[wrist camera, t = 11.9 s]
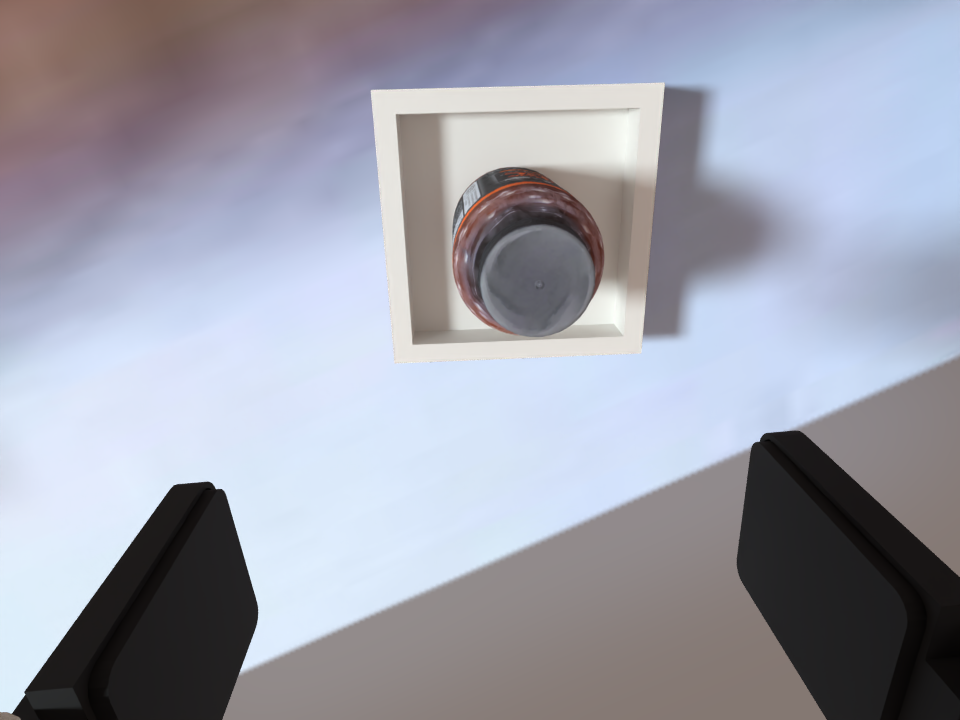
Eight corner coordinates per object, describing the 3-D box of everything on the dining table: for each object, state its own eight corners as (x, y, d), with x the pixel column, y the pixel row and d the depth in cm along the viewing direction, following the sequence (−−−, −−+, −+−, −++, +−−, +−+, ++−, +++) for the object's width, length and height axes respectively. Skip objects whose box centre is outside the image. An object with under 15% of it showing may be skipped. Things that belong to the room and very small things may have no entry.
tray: (378, 91, 29) (370, 90, 26) (644, 85, 29) (664, 82, 27) (399, 342, 34) (394, 363, 31) (625, 333, 34) (641, 353, 32)
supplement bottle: (584, 184, 30) (656, 226, 20) (544, 294, 32) (591, 383, 22) (470, 148, 29) (483, 170, 19) (437, 263, 31) (432, 341, 21)
